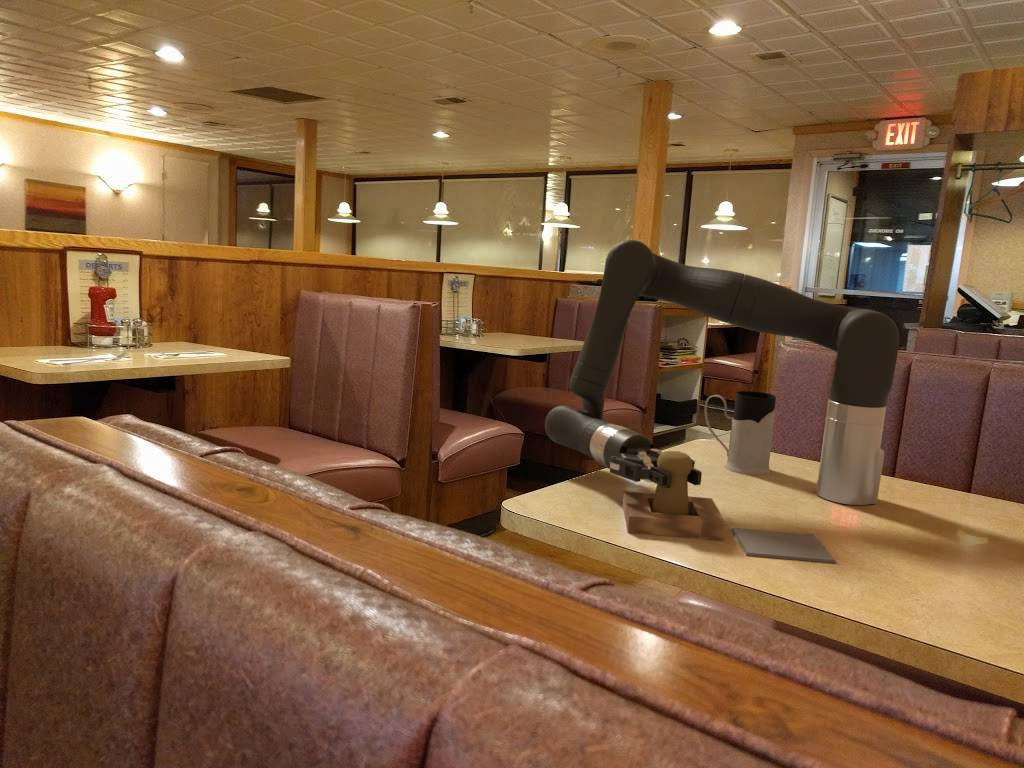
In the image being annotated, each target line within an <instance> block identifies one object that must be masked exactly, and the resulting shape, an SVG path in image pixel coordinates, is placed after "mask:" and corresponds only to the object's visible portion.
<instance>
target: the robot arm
mask: <svg viewBox="0 0 1024 768" xmlns="http://www.w3.org/2000/svg"><path fill="white" fill-rule="evenodd" d="M604 263H605V264H604V269H603V276H602V282H601V287H600V292H599V297H598V300H597V304H596V307H595V311H594V314H593V318H592V320H591V323H590V327H589V329H588V331H587V334H586V336H585V340H584V341H583V344H582V346H581V349H580V351H579V355H578V357H577V361H576V363H575V365H574V369H573V371H572V374H571V377H570V380H569V383H568V388H569V389H568V390H569V391H570V392H571V393H572V394H574V395H575V396H577V397H578V398H580V400H581V407H582V408H581V409H579V408H574V407H571V406H569V405H558V406H555V407H553V408H552V409H551V410H549V412H548V414H546V417H545V418H544V419H545V421H544V429H545V432H546V436H548V438H549V439H550V440H551V441H552V442H553V443H556V444H558V445H562V446H564V447H566V448H570V449H571V450H572V449H573V450H576V451H578V452H581V454H584V455H586V456H587V457H589V458H591V459H593V460H595V461H596V462H598V463H599V464H600V465H602V466H603V467H605V468H607V469H608V470H609V473H611V474H613V475H616V476H618V477H621V478H624V479H627V480H629V481H633V482H635V483H639V482H641V480H644V481H645V482H647V483H654V484H656V485H657V484H658V485H660V486H662V487H664V488H670V487H671V479H672V476H671V474H670V473H668V472H666V471H664V470H661V469H659V468H658V467H657V460H658V457H659V456H660V454H661V453H663V452H664V451H662V450H660V449H658V448H656V447H655V446H654V444H653V442H652V440H651V439H650V438H648V436H645V435H644V434H641V433H639V432H637V431H634V430H631V429H630V428H627V427H624V426H623V425H617V424H614V423H612V422H608V420H607V421H606V420H604V419H603V418H604V408H605V399H606V398H605V397H606V392H607V389H608V387H609V384H610V382H611V379H612V376H613V374H614V371H615V367H616V364H617V362H618V359H619V355H620V351H621V346H622V343H623V339H624V334H625V330H626V329H627V328H626V327H627V324H628V322H629V319H630V315H631V314H632V311H633V308H634V307H635V304H636V302H637V301H638V299H639V297H646V298H651V299H656V300H660V301H664V302H665V301H666V302H669V303H673V304H676V305H679V306H681V307H684V308H686V309H689V310H691V311H693V312H696V313H698V314H701V315H702V316H703V315H704V316H706V317H708V318H711V319H713V320H717V321H719V322H723V323H725V324H729V325H730V326H731V325H732V326H735V327H738V328H741V329H742V328H743V329H745V330H749V331H754V332H757V333H763V334H768V335H775V336H782V337H790V338H795V339H801V340H805V341H807V342H810V343H814V344H816V345H819V346H821V347H824V348H827V349H829V350H831V351H833V352H836V359H835V367H834V374H833V378H832V382H831V383H830V385H829V386H830V387H829V394H828V401H827V408H826V415H825V423H824V430H823V438H822V446H821V452H820V453H821V454H820V461H819V469H818V477H817V481H816V482H817V483H816V495H818V496H819V497H821V498H823V499H825V500H827V501H831V502H835V503H839V504H844V505H850V506H851V505H852V506H853V505H854V506H866V505H877V504H878V499H879V498H878V497H879V492H880V487H881V486H880V485H881V479H882V471H883V465H884V459H885V458H884V457H885V451H884V450H883V449H882V448H881V445H882V440H883V438H882V437H883V431H884V424H885V417H886V411H887V410H886V409H887V404H888V398H889V395H890V393H891V391H892V387H893V383H894V377H895V373H896V371H895V370H896V365H897V360H898V354H899V347H900V333H899V329H898V327H897V324H896V323H895V321H894V320H893V319H892V318H890V317H889V316H888V315H886V314H885V313H883V312H879V311H876V310H872V309H869V308H858V307H857V308H856V307H852V306H846V305H845V306H844V305H839V304H835V303H829V302H825V301H822V300H818V299H815V298H811V297H808V296H807V295H804V294H802V293H799V292H797V291H795V290H793V289H790V288H788V287H786V286H783V285H780V284H777V283H775V282H772V281H770V280H767V279H763V278H760V277H757V276H753V275H750V274H745V273H741V272H738V271H733V270H726V269H719V268H711V267H699V266H691V265H687V264H683V263H680V262H677V261H675V260H671V259H669V258H666V257H663V256H661V255H658V254H656V253H654V252H652V250H651V249H650V247H649V246H647V245H646V243H643V242H642V241H640V240H635V239H627V240H626V239H625V240H623V241H620V242H618V243H617V244H615V245H614V246H613V247H612V248H611V249H610V251H609V252H608V254H607V255H606V258H605V262H604ZM677 452H680V451H677ZM691 460H692V469H691V472H690V473H689V474H688V476H687V482H688V483H689V484H691V485H694V486H700V485H701V483H702V471H701V470H699V469H697V468H695V465H696V460H694V459H692V458H691Z"/></svg>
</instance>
